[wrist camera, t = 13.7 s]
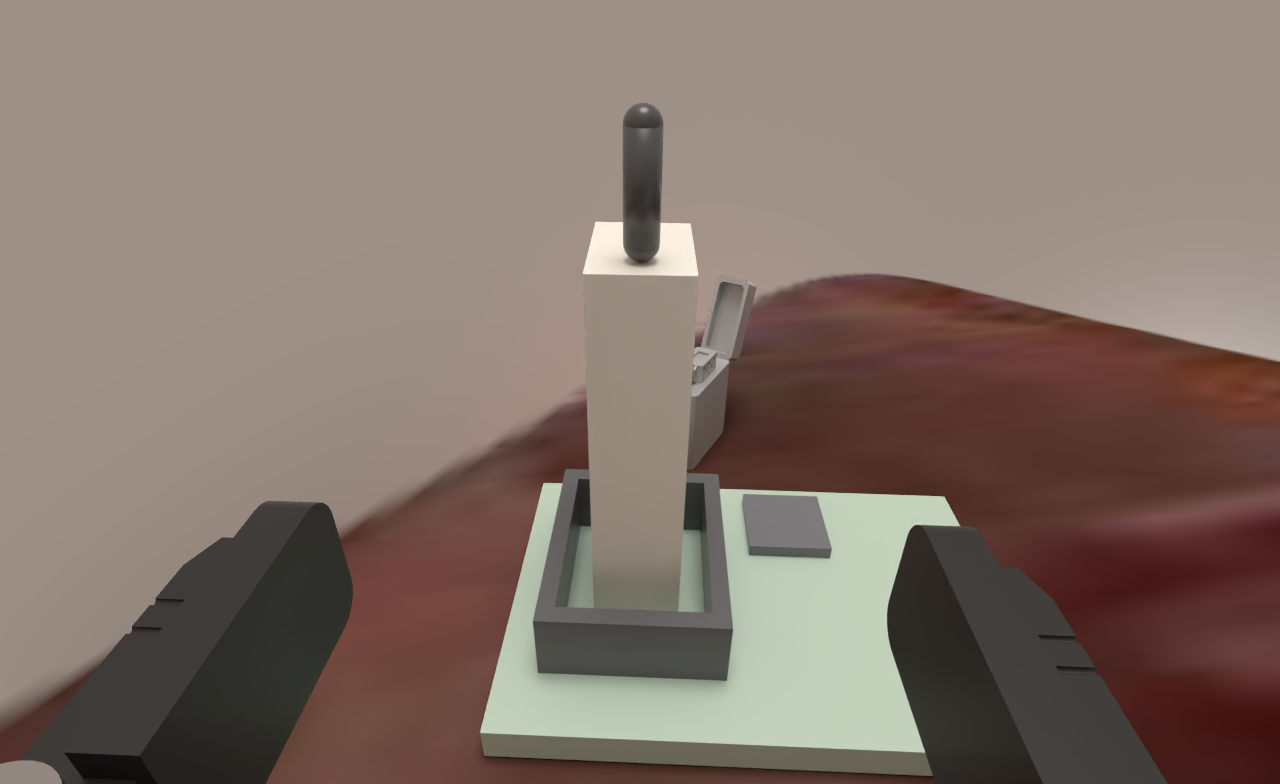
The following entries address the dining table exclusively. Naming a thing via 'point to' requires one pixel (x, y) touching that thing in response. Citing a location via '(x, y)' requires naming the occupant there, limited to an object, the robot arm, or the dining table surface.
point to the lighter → (717, 363)
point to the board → (717, 638)
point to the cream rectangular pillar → (639, 382)
